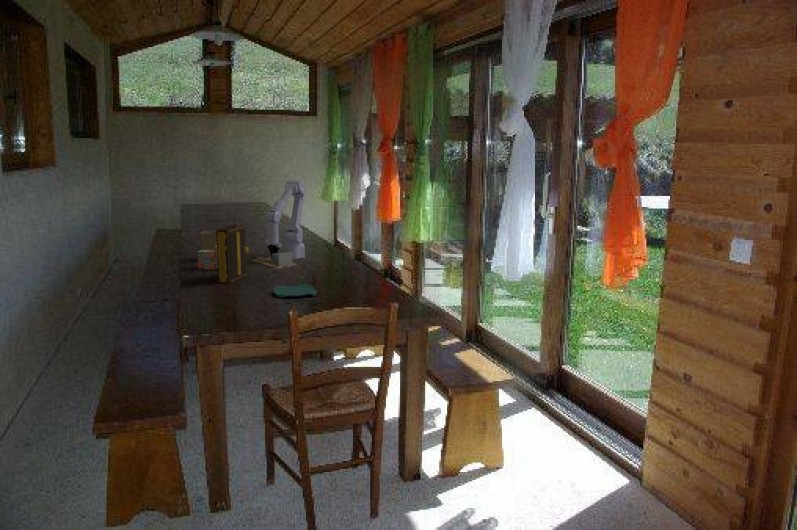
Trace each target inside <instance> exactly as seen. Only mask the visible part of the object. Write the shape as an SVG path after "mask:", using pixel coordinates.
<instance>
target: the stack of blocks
mask: <svg viewBox="0 0 797 530" xmlns="http://www.w3.org/2000/svg"><path fill="white" fill-rule="evenodd" d="M214 247H215V250H205V249H200V250H198V251H197V252H196V253H197V269H198V270H218V257H217V245H216V246H214Z"/></svg>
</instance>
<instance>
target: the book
mask: <svg viewBox="0 0 797 530" xmlns="http://www.w3.org/2000/svg"><path fill="white" fill-rule="evenodd" d="M246 233H247V232H246V225H245V224H241V225H237V224H231V225H227V226H224V227H220V228H217V229H216V234H217V257H218V269H217V276H218V279H217V280H218V283H219V284H231V283H230V282H232V283H234V282H236V281H238V280H240V279H242V277H243V278H245V277H247V276H248V264H247V261H248V259H247V255H248V254H249V253H250V250H249V247H247V236H246V235H247V234H246ZM244 276H245V277H244ZM237 279H238V280H237ZM235 280H236V281H235ZM233 281H234V282H233Z"/></svg>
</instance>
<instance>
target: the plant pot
mask: <svg viewBox="0 0 797 530" xmlns="http://www.w3.org/2000/svg"><path fill="white" fill-rule="evenodd" d="M200 236H201V241H202V246H203V250H215V247H214V246H216V245H217V234H216V230H215V229H214V230H203V231H201V232H200Z"/></svg>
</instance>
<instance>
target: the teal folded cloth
mask: <svg viewBox="0 0 797 530" xmlns="http://www.w3.org/2000/svg"><path fill="white" fill-rule="evenodd" d="M318 291H319V289H318V288H317V287H315V286H314V285H310V284H304V283H303V284H289V285H288V284H287V285H279V286H275V287H273V288H272V291H271V293H272V294H273V295H275V296H277V297H278V298H282V299H285V298H291V299H285V300H284V302H285V303H286V304H288V303H292V304H293V305H292V306H299V305H298V304H300V305H312V304H321V303H323V300H321V298H320V297H319V296H318V297H316V296H317V294H318ZM311 295H312V296H313V297H307V296H311ZM303 297H304V298H303ZM293 298H294V299H293ZM292 300H295V301H297V302H291V301H292ZM287 302H288V303H287Z"/></svg>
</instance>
